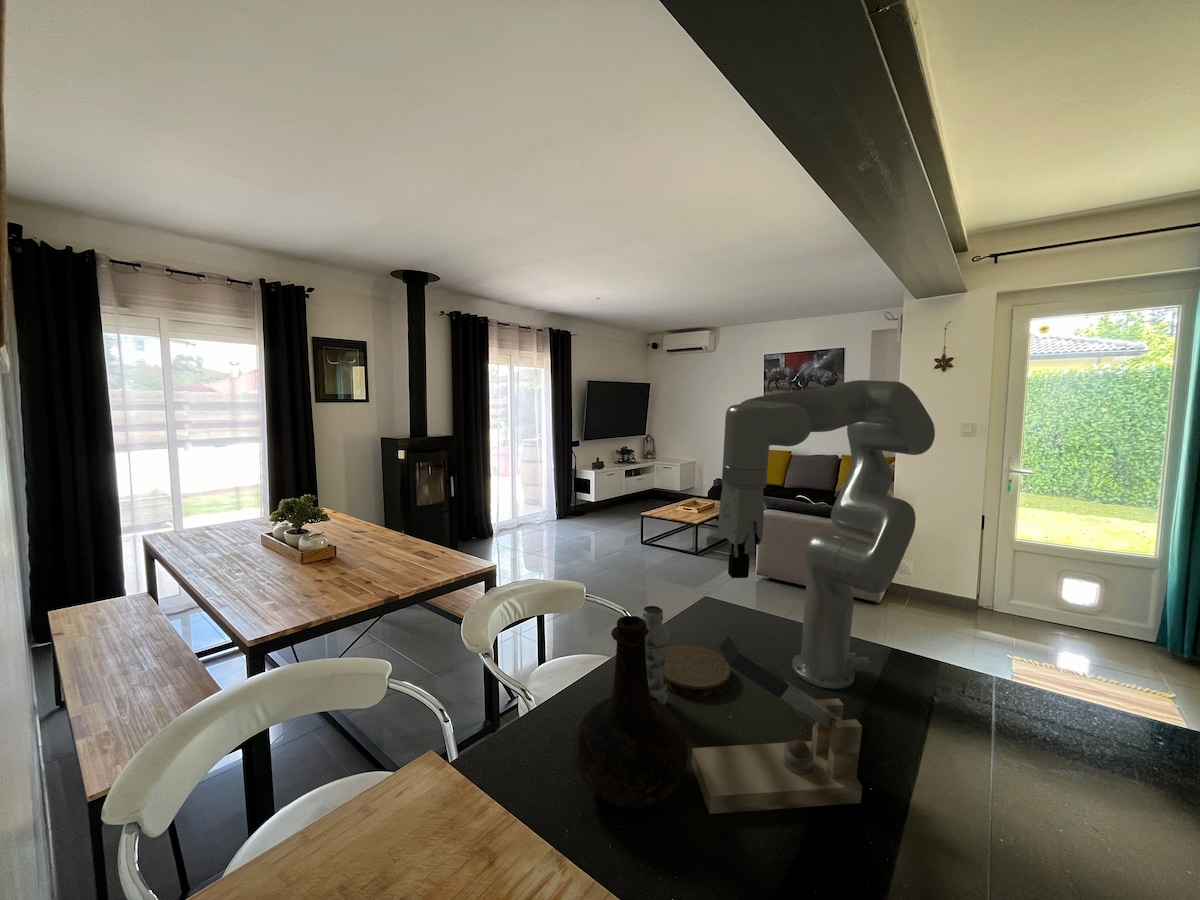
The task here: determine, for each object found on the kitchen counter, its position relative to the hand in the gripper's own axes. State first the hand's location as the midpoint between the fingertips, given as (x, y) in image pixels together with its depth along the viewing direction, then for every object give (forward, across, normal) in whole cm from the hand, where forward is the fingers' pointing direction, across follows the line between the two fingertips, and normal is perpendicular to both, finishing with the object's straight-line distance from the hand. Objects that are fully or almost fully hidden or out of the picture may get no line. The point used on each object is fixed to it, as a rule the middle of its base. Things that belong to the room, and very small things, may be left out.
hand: (738, 576), depth 95 cm
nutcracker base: (+29, +15, +2) cm, 33 cm away
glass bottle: (+30, +13, -21) cm, 38 cm away
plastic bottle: (+29, -6, -14) cm, 33 cm away
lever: (+14, +15, +2) cm, 20 cm away
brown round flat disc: (+30, -15, -3) cm, 34 cm away
